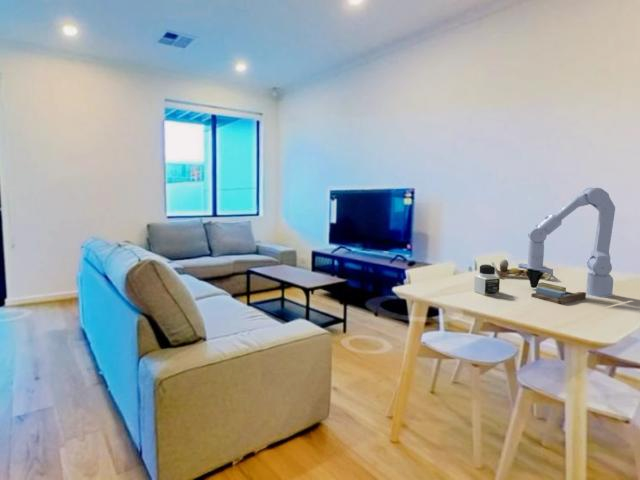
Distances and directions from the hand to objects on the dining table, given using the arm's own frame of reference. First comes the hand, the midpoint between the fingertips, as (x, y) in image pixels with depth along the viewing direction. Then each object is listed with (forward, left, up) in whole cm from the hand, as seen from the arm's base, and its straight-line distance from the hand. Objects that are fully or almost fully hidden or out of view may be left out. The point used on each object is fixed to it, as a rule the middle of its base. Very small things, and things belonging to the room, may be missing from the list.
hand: (533, 287), depth 168 cm
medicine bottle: (+21, -7, -2) cm, 22 cm away
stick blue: (+7, +12, -1) cm, 14 cm away
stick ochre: (0, +8, -1) cm, 8 cm away
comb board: (+4, +13, -2) cm, 13 cm away
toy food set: (-21, -22, -2) cm, 30 cm away
